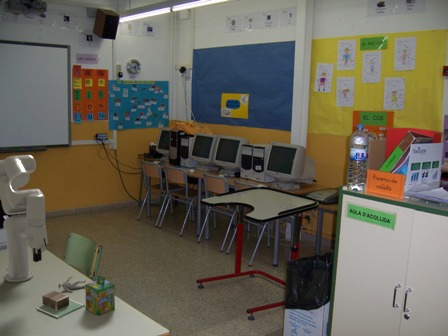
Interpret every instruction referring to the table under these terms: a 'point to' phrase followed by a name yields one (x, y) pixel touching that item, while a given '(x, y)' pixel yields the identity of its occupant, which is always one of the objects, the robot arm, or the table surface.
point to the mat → (59, 313)
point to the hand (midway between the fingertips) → (37, 260)
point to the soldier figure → (71, 285)
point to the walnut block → (55, 300)
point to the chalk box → (100, 296)
